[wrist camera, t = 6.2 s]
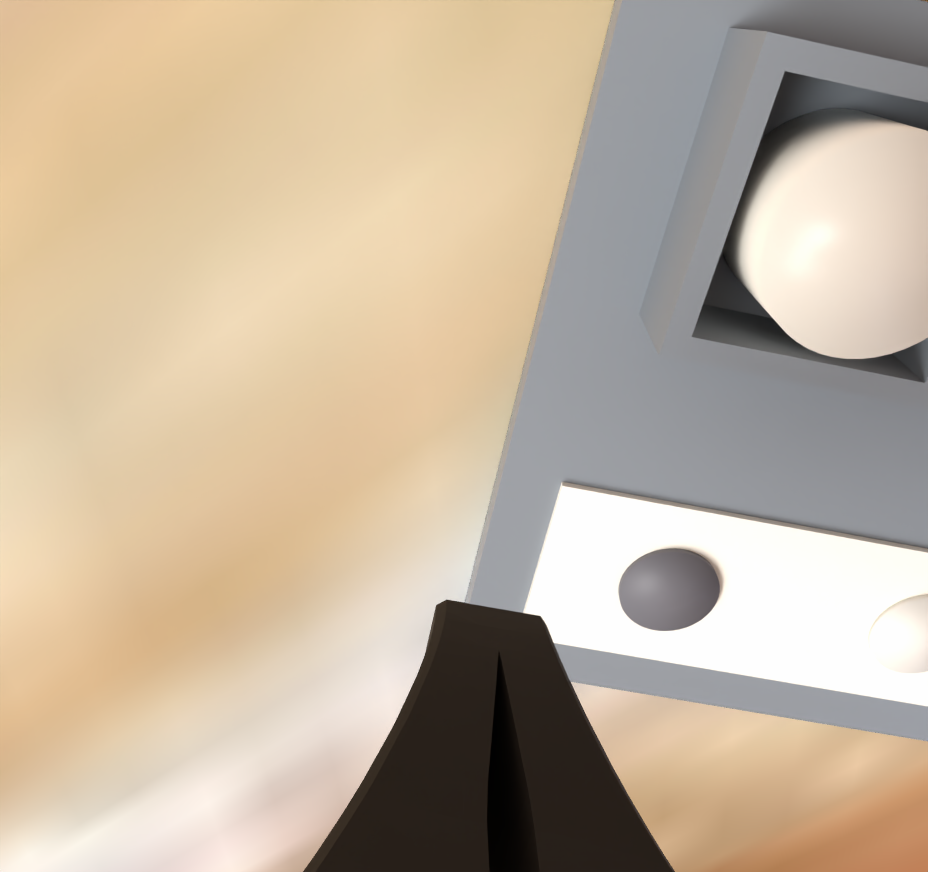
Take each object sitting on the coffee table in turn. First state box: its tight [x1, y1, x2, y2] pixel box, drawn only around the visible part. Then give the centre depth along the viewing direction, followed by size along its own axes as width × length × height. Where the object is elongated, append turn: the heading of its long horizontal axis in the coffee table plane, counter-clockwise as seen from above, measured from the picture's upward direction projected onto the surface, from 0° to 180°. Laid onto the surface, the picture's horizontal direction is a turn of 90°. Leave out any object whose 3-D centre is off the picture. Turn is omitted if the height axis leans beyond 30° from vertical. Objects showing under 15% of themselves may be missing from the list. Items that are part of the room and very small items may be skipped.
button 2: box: [722, 109, 928, 359], centre depth 15 cm, size 4×4×3 cm
